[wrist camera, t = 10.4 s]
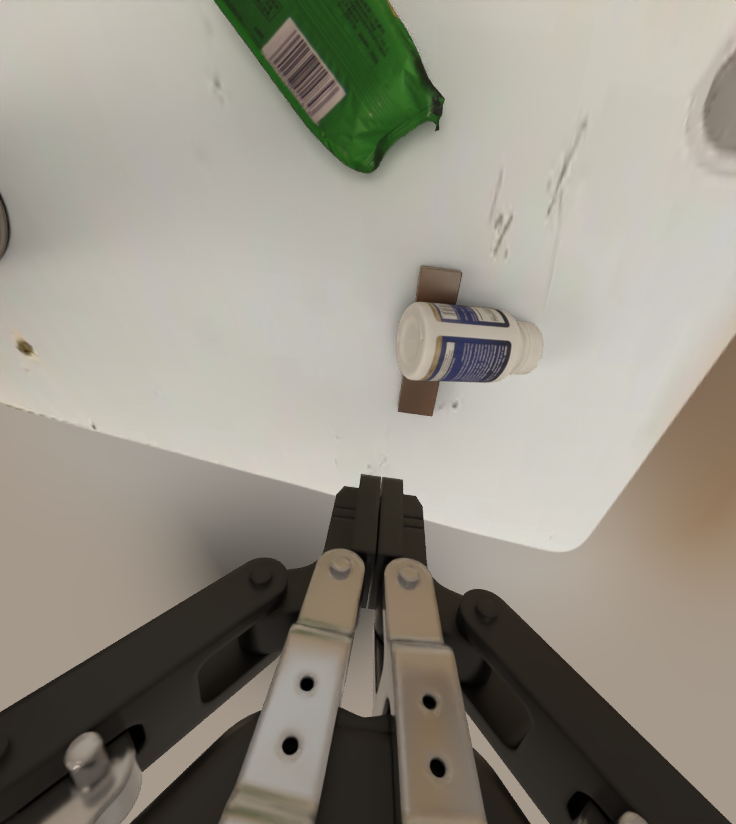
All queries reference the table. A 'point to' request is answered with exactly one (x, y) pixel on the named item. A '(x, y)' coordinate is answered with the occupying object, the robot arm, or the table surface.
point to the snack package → (341, 70)
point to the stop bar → (432, 289)
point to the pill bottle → (464, 343)
